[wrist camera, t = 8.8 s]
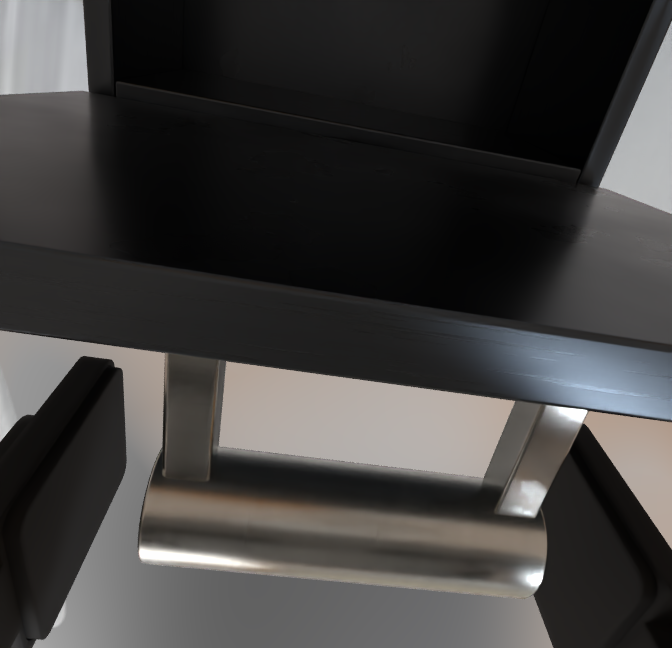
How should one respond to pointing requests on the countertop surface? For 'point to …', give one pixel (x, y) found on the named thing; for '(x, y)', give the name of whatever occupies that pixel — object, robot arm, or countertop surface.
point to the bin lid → (333, 323)
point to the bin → (396, 71)
